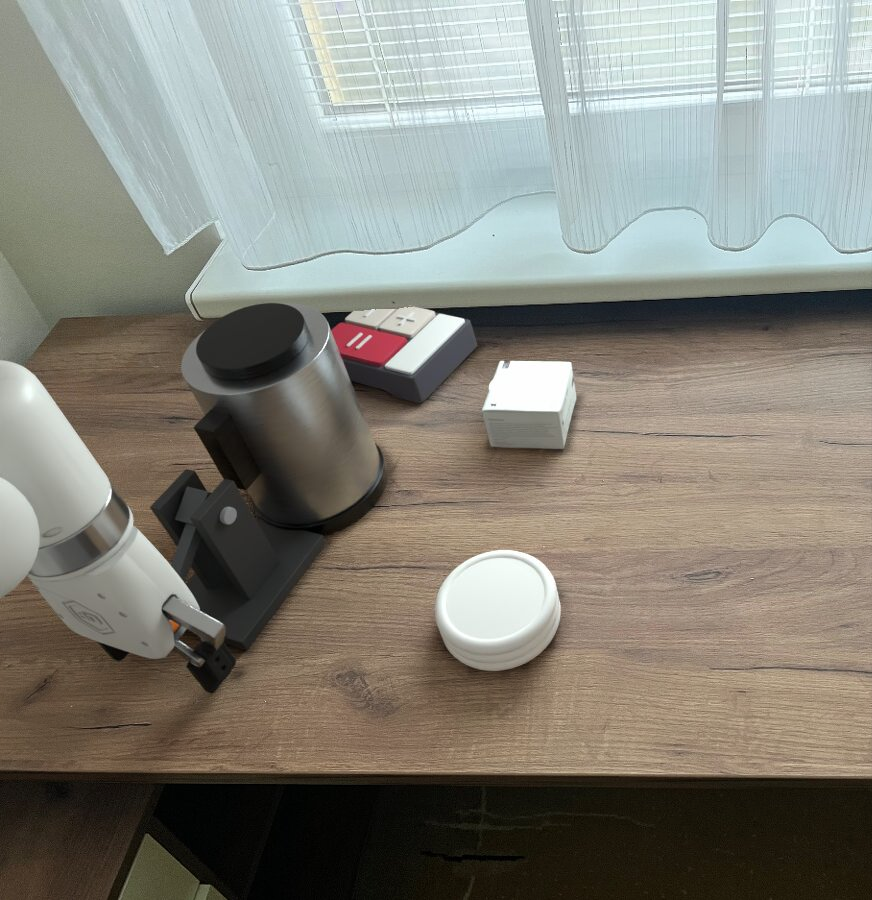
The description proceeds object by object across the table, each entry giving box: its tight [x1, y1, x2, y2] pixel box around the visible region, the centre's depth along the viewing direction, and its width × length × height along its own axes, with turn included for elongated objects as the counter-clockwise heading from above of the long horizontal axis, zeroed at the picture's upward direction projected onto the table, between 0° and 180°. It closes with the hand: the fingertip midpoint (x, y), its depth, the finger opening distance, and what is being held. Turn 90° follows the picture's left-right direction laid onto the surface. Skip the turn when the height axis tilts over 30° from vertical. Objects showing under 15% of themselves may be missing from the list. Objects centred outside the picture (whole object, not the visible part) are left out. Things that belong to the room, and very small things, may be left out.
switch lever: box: [170, 487, 212, 631], centre depth 70 cm, size 13×3×3 cm
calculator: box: [331, 306, 478, 404], centre depth 98 cm, size 11×4×15 cm
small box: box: [481, 360, 577, 450], centre depth 88 cm, size 8×8×5 cm
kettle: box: [180, 302, 389, 536], centre depth 79 cm, size 15×13×19 cm
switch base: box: [149, 468, 327, 651], centre depth 74 cm, size 12×9×12 cm
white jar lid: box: [434, 549, 562, 672], centre depth 71 cm, size 10×10×4 cm
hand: (175, 661), depth 72 cm, fingers open, 9 cm apart
